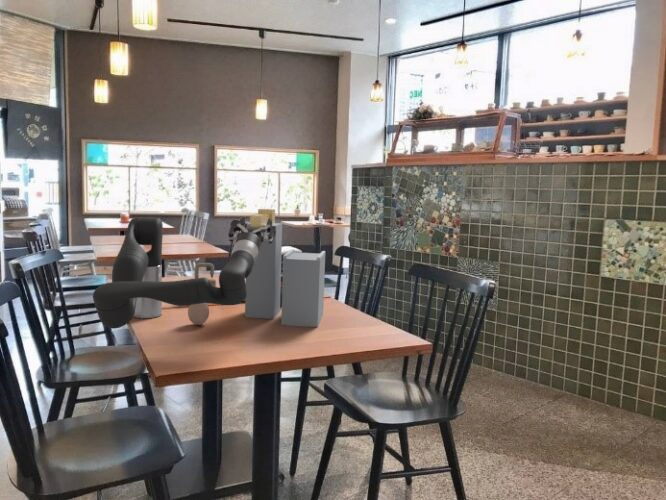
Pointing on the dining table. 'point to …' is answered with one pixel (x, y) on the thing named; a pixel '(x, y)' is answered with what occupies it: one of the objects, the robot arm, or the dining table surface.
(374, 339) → the dining table surface
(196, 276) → the padlock
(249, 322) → the dining table surface
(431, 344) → the dining table surface
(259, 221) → the brass stop bar
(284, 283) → the slate post and ledge
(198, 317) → the egg
